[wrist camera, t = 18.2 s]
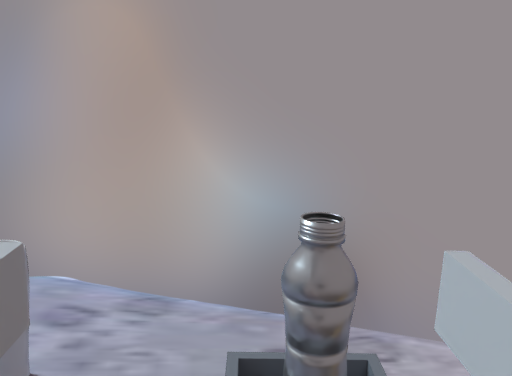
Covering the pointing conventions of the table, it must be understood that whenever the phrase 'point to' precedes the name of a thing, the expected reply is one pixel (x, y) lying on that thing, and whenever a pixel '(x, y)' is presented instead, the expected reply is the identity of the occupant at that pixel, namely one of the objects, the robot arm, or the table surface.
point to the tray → (272, 364)
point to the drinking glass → (17, 343)
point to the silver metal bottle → (318, 298)
